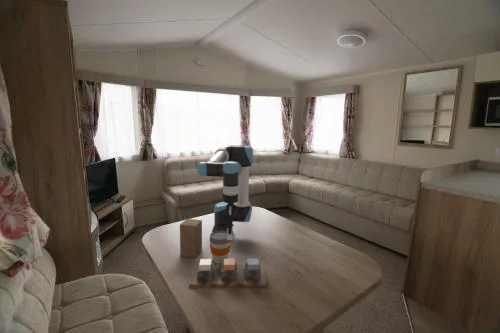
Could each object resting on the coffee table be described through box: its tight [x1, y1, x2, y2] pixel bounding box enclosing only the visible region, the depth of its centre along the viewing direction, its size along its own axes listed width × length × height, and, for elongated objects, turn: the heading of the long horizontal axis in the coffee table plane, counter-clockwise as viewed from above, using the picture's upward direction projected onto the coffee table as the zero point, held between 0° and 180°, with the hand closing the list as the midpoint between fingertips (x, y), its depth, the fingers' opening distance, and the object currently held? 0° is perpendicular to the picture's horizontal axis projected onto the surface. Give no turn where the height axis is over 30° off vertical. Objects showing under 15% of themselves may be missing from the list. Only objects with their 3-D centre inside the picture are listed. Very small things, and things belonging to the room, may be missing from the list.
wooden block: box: [179, 218, 203, 259], centre depth 151 cm, size 10×10×20 cm
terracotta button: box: [224, 258, 236, 271], centre depth 128 cm, size 6×6×5 cm
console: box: [189, 262, 268, 288], centre depth 128 cm, size 38×13×6 cm, turn 94°
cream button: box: [198, 258, 213, 271], centre depth 127 cm, size 6×6×5 cm
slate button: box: [246, 258, 260, 270], centre depth 128 cm, size 6×6×5 cm
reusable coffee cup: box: [209, 231, 232, 264], centre depth 146 cm, size 13×13×15 cm
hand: (229, 239), depth 125 cm, fingers closed
